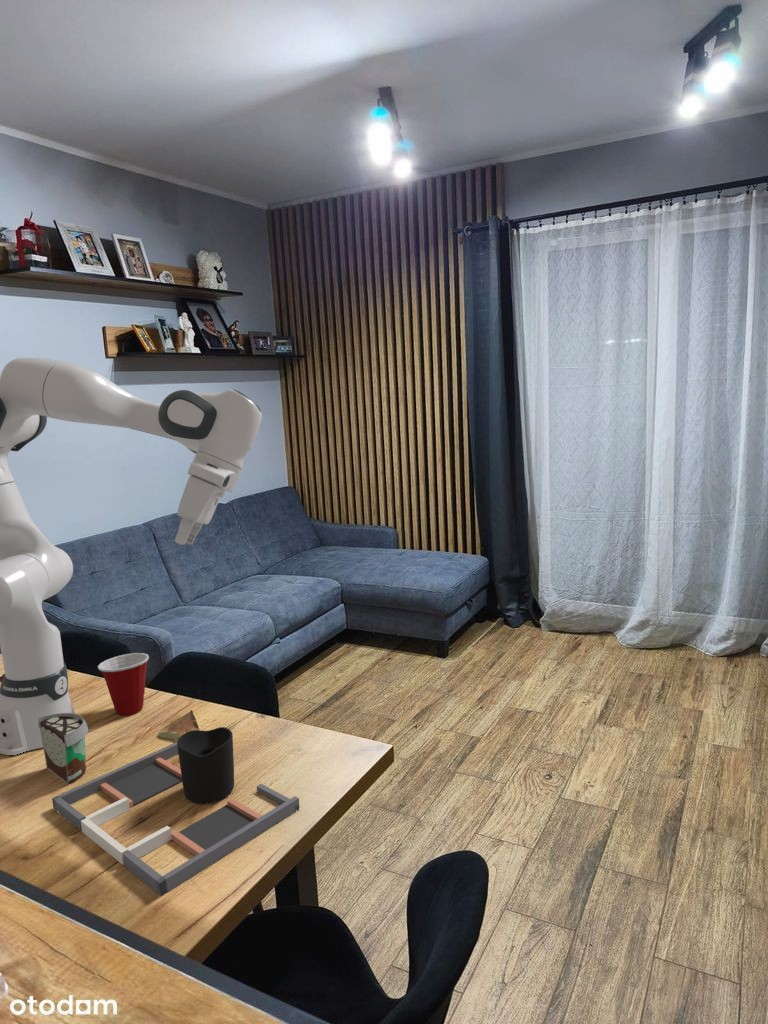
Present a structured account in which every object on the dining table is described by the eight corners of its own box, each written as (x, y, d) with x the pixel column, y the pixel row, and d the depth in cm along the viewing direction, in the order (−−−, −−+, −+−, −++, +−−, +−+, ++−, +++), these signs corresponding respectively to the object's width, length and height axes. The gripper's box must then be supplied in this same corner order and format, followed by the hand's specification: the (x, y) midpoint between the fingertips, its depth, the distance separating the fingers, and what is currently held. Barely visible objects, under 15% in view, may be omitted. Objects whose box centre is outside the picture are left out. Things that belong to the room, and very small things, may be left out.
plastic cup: (130, 696, 164) (125, 648, 162) (164, 704, 159) (159, 654, 157) (92, 715, 155) (86, 664, 153) (126, 724, 150) (120, 672, 148)
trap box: (184, 748, 139) (183, 738, 138) (299, 809, 116) (298, 798, 116) (53, 808, 119) (52, 798, 119) (161, 895, 97) (159, 883, 97)
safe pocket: (126, 807, 119) (125, 797, 118) (171, 839, 110) (170, 828, 109) (80, 830, 113) (79, 819, 112) (124, 866, 104) (123, 854, 103)
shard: (192, 716, 154) (191, 708, 154) (220, 721, 151) (219, 713, 150) (157, 738, 144) (156, 730, 144) (186, 744, 141) (185, 736, 141)
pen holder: (210, 771, 129) (205, 721, 128) (247, 784, 124) (243, 732, 123) (170, 797, 122) (165, 743, 120) (209, 812, 117) (204, 757, 115)
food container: (104, 773, 130) (98, 723, 128) (72, 787, 126) (65, 736, 124) (75, 753, 138) (69, 705, 137) (43, 765, 134) (37, 717, 132)
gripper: (204, 473, 139) (176, 537, 138) (189, 462, 119) (156, 536, 118) (233, 485, 140) (206, 549, 139) (224, 476, 120) (191, 550, 119)
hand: (183, 543), depth 128 cm, fingers open, 8 cm apart
